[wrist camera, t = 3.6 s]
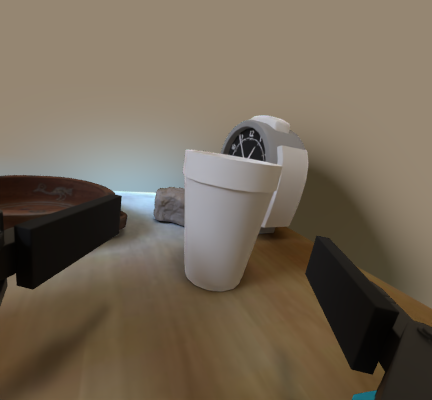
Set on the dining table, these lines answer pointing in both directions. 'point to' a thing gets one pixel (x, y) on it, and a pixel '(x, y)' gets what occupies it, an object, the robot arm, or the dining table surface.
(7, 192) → the dish
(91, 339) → the dining table surface
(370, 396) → the ice cube tray
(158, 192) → the stone
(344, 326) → the robot arm
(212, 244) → the foam cup
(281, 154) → the alarm clock
